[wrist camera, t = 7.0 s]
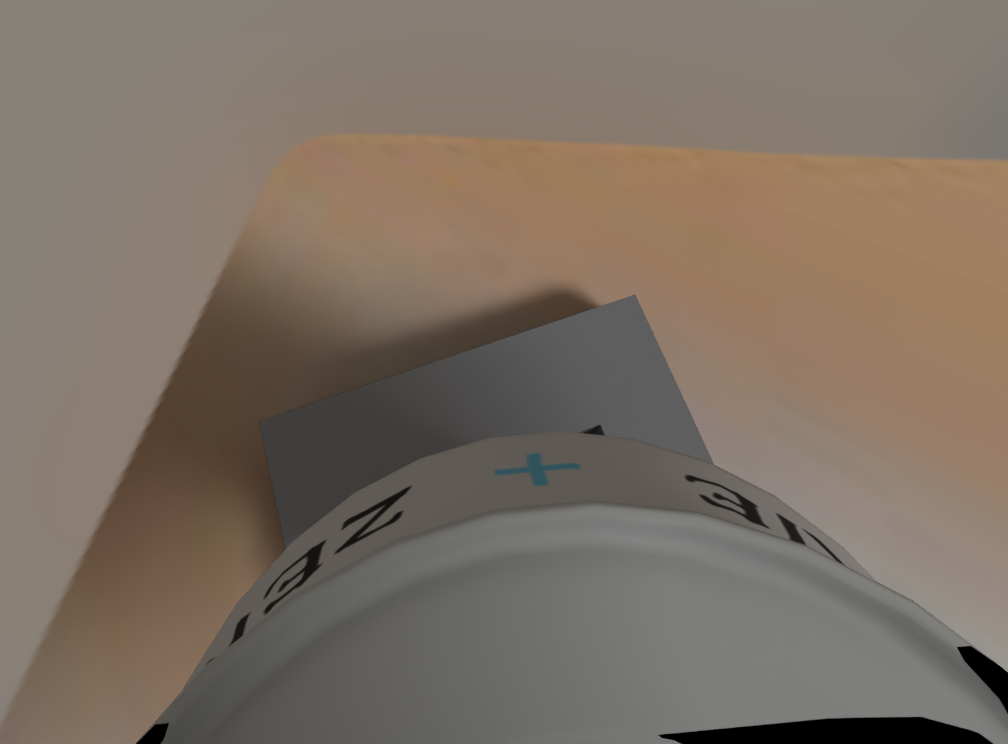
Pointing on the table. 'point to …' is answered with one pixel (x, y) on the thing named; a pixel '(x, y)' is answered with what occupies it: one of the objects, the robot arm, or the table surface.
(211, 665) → the energy drink can
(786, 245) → the table surface
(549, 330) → the socket block
